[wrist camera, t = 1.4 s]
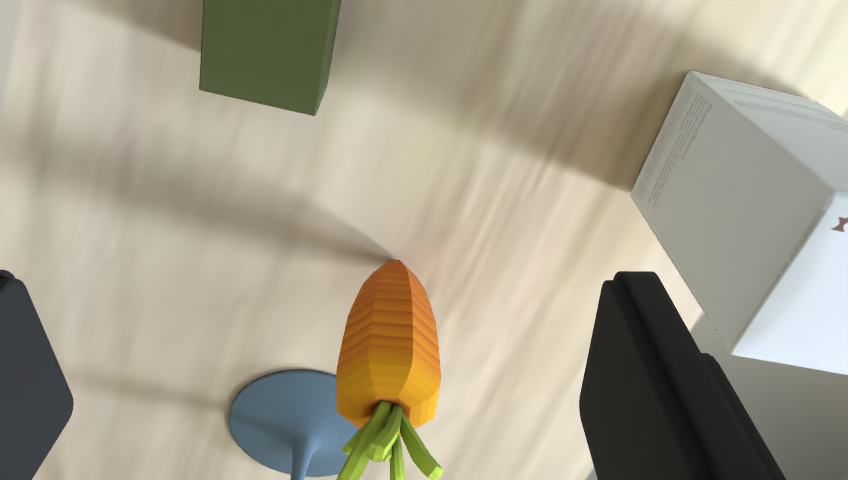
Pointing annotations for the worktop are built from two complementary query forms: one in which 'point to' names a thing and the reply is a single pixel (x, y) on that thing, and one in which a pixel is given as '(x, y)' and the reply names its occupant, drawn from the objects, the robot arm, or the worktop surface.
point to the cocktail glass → (292, 424)
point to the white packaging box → (755, 217)
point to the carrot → (389, 373)
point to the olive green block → (269, 51)
